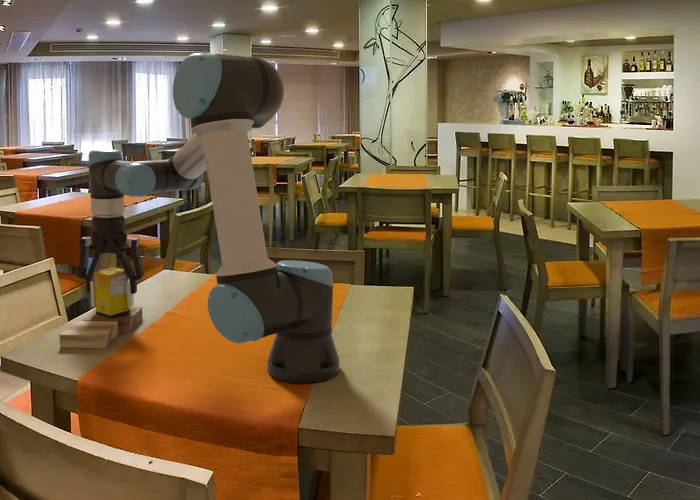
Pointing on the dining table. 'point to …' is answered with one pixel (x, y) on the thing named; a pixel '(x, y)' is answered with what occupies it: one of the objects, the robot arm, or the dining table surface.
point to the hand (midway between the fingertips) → (112, 305)
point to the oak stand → (89, 334)
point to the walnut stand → (120, 319)
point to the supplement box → (111, 292)
